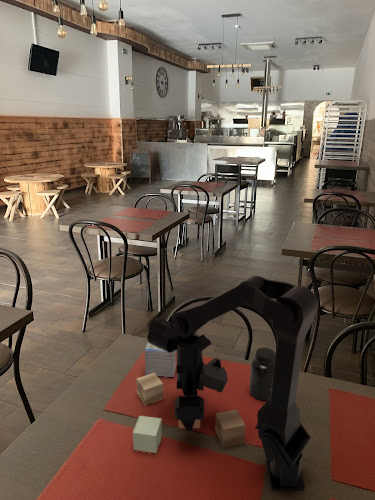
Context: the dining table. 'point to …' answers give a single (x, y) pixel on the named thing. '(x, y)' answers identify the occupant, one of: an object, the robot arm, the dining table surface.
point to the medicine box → (159, 361)
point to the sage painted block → (147, 434)
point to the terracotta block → (196, 425)
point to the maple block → (150, 388)
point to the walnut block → (230, 428)
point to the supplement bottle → (262, 373)
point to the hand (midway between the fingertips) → (189, 415)
